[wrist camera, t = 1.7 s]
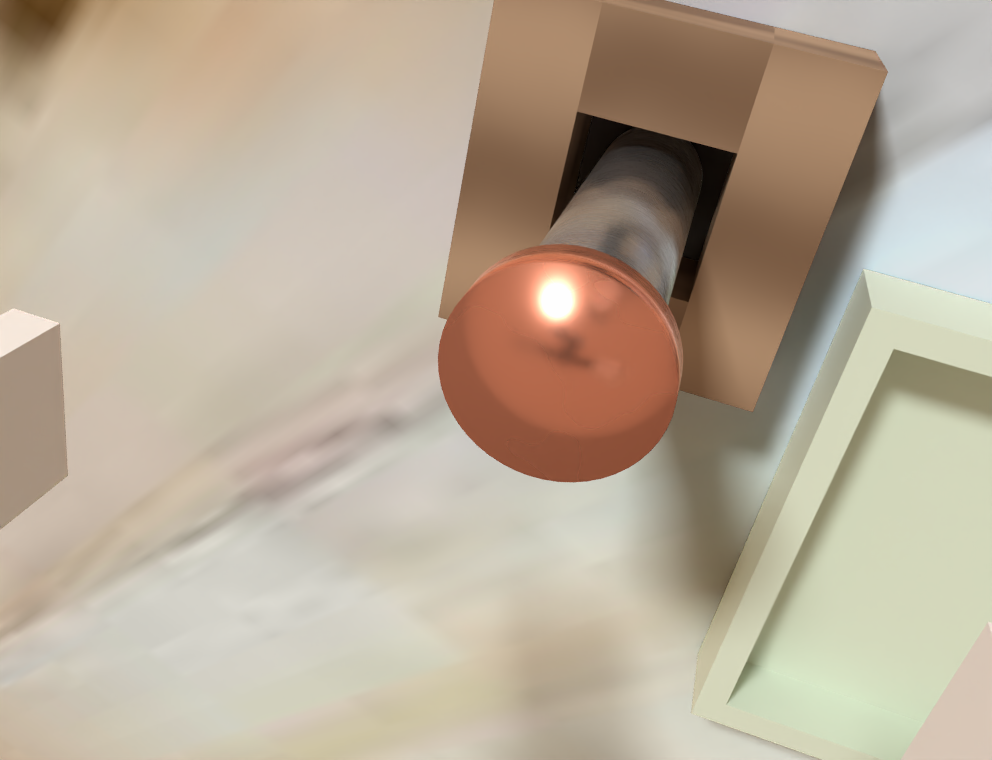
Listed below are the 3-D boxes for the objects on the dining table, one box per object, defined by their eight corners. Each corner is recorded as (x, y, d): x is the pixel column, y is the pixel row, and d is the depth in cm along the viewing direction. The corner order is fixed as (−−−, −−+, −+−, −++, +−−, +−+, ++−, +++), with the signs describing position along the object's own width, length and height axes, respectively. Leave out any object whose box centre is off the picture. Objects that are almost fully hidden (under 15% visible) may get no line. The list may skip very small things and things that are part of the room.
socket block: (530, -32, 27) (498, -24, 24) (875, 51, 25) (888, 71, 22) (470, 277, 32) (438, 316, 29) (755, 361, 30) (752, 412, 27)
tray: (863, 268, 28) (871, 307, 25) (1320, 394, 26) (1381, 450, 23) (697, 654, 36) (691, 713, 34) (1032, 769, 35) (1053, 842, 32)
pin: (599, 88, 28) (459, 232, 16) (742, 125, 27) (710, 305, 15) (566, 223, 30) (421, 440, 18) (698, 261, 29) (639, 511, 17)
